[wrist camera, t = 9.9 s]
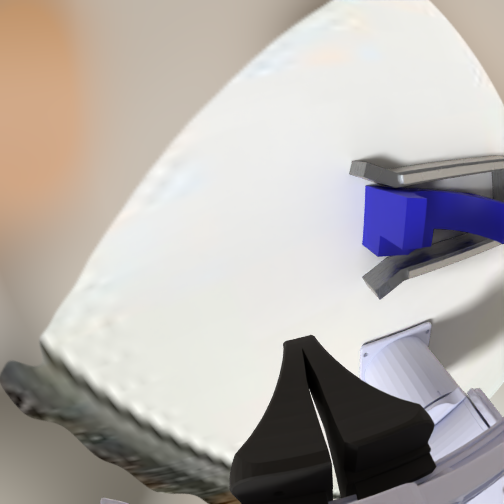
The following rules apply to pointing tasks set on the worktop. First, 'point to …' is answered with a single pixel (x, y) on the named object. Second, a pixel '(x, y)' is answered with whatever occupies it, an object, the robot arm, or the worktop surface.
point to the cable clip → (425, 217)
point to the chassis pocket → (442, 252)
